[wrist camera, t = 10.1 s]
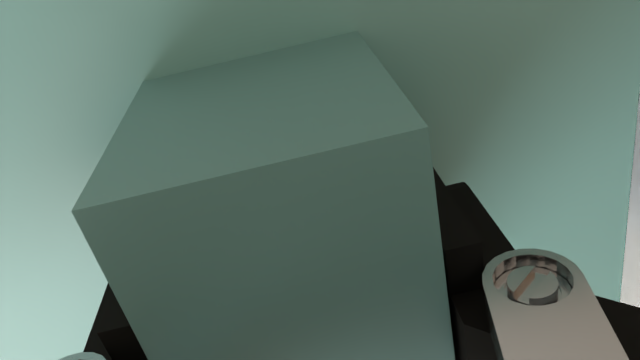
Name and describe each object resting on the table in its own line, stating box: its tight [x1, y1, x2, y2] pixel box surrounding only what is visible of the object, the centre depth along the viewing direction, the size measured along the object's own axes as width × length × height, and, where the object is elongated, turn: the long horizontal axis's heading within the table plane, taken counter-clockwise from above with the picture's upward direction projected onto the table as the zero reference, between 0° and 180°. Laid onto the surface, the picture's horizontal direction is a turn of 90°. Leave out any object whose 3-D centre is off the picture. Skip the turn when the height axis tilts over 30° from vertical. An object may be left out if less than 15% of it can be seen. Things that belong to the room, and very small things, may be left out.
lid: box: [0, 0, 640, 360], centre depth 11 cm, size 15×13×7 cm
